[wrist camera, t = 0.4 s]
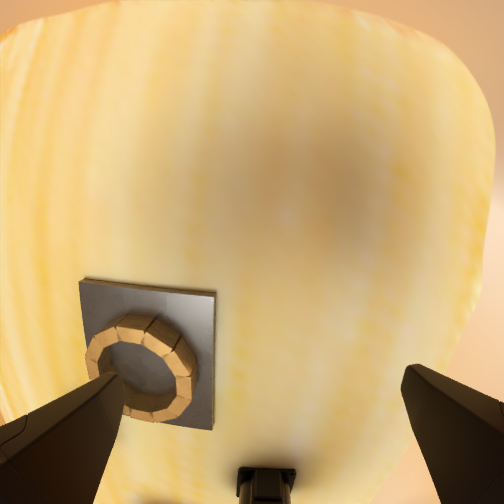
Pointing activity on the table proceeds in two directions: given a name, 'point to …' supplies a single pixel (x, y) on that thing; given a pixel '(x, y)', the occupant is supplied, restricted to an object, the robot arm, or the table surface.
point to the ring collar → (153, 349)
